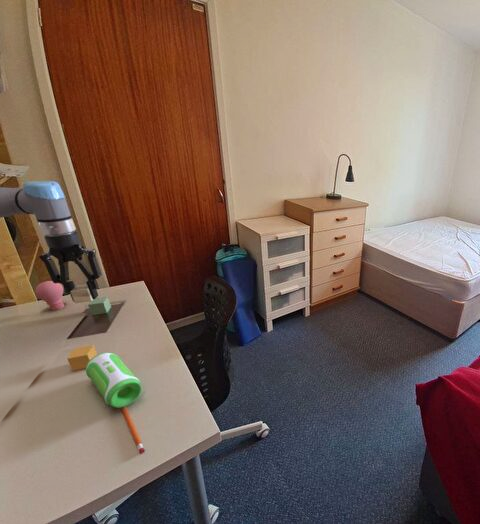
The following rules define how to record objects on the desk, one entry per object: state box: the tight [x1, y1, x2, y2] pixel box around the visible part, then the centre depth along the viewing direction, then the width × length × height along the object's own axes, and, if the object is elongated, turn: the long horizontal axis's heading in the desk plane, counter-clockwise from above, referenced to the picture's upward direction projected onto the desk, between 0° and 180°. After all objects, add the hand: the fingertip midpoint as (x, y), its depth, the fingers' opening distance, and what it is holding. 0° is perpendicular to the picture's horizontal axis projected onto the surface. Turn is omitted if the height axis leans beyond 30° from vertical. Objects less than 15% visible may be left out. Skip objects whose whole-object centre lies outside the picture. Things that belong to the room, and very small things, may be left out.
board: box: [66, 302, 125, 340], centre depth 100 cm, size 12×20×1 cm, turn 22°
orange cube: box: [66, 344, 98, 372], centre depth 81 cm, size 4×4×4 cm
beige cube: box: [70, 283, 93, 304], centre depth 95 cm, size 4×4×4 cm
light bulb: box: [34, 280, 65, 311], centre depth 104 cm, size 7×7×12 cm
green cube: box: [87, 296, 112, 315], centre depth 104 cm, size 4×4×4 cm
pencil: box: [120, 406, 146, 455], centre depth 65 cm, size 1×19×1 cm, turn 48°
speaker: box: [85, 352, 142, 409], centre depth 73 cm, size 18×7×8 cm, turn 55°
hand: (86, 298), depth 96 cm, fingers closed on beige cube, 4 cm apart
